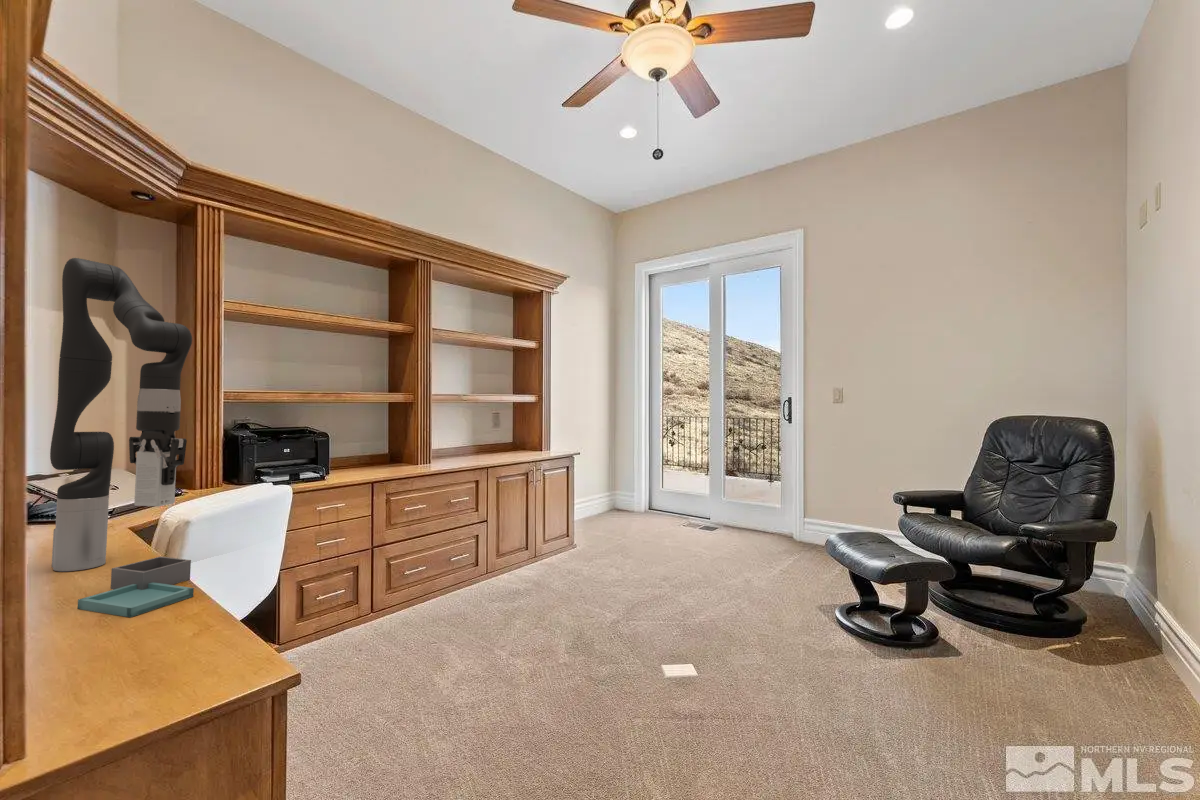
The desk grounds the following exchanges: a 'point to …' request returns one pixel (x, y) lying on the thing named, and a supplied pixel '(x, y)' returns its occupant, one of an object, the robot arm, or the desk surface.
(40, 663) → the desk surface
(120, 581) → the holder
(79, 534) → the robot arm
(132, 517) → the desk surface
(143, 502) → the skincare box
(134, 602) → the tray
